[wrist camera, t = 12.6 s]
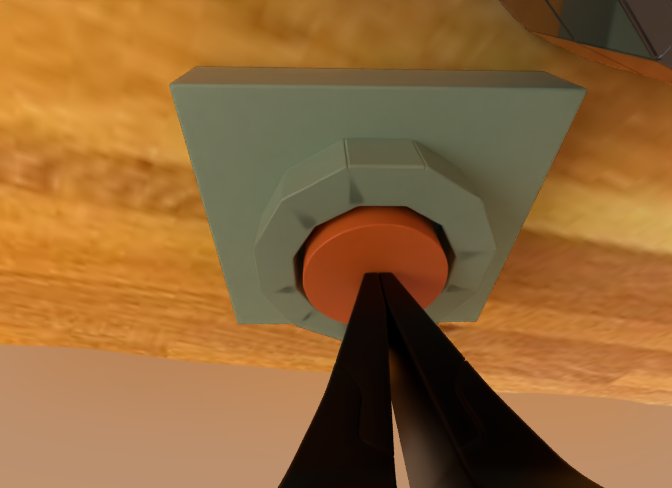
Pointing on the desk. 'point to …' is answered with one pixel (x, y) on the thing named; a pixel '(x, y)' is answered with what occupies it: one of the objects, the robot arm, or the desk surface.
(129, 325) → the desk surface
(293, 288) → the control block
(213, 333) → the desk surface
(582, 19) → the bowl
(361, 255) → the button
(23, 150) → the desk surface
